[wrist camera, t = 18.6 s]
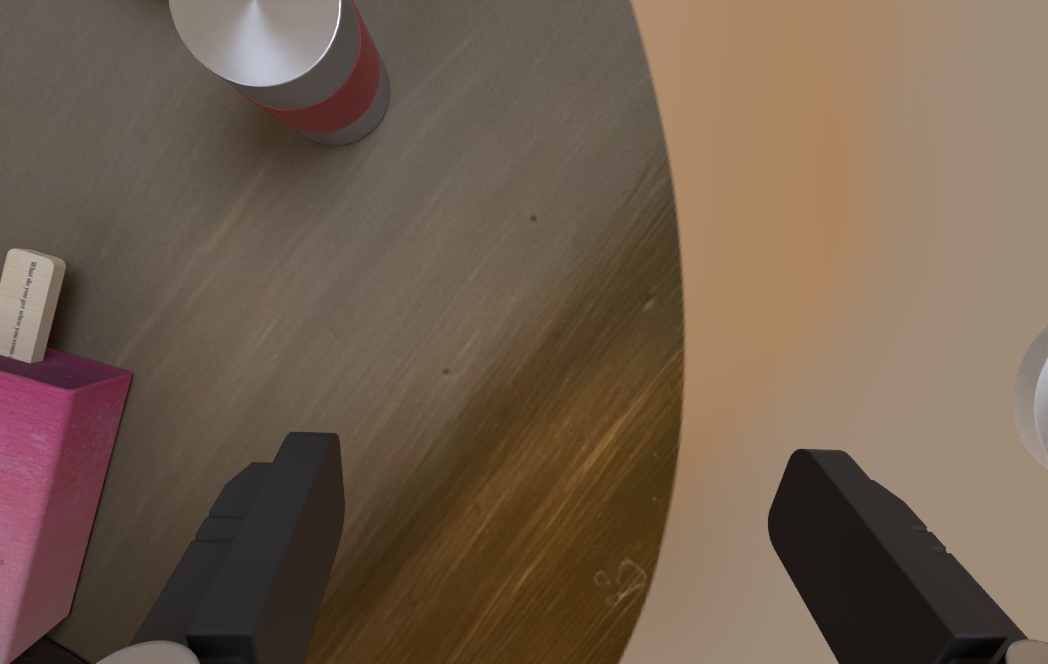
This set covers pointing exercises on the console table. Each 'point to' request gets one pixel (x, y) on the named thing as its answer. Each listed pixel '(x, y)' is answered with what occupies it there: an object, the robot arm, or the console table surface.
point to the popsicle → (46, 452)
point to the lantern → (45, 654)
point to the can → (293, 61)
